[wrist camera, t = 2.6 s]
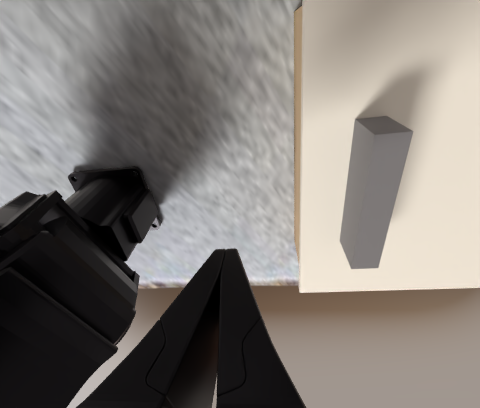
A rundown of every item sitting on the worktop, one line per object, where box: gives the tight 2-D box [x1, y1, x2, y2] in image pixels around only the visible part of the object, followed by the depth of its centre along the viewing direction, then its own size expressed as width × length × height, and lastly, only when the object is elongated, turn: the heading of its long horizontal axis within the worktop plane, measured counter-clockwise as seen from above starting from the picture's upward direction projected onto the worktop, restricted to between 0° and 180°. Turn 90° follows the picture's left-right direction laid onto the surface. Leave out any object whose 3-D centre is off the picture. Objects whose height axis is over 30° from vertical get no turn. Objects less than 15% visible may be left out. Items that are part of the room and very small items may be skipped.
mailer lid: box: [299, 0, 480, 293], centre depth 13 cm, size 15×19×3 cm
